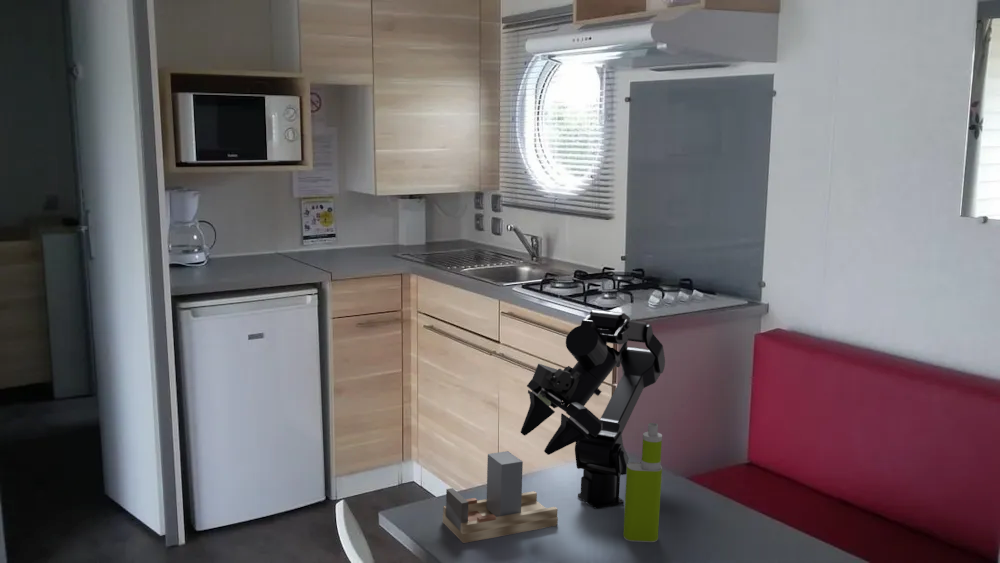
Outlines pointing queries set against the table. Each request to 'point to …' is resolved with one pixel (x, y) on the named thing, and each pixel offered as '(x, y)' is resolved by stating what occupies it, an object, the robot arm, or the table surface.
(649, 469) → the vape
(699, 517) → the table surface
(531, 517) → the sleeve track
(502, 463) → the grey rectangular box
